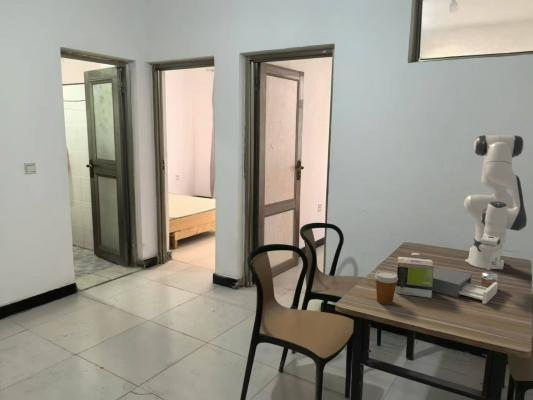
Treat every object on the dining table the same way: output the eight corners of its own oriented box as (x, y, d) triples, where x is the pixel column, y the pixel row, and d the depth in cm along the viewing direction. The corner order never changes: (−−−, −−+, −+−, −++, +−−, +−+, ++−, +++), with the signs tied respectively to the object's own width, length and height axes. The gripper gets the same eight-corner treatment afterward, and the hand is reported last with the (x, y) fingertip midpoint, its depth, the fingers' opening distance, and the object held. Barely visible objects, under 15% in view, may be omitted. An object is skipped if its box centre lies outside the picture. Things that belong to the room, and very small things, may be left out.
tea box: (430, 290, 183) (433, 259, 181) (431, 298, 174) (434, 266, 172) (395, 285, 188) (398, 255, 186) (395, 293, 179) (397, 261, 176)
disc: (484, 274, 191) (484, 270, 190) (499, 278, 186) (499, 274, 186) (479, 278, 186) (480, 274, 186) (495, 281, 182) (495, 277, 181)
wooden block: (484, 285, 191) (485, 275, 190) (495, 288, 187) (497, 278, 186) (480, 288, 187) (482, 278, 186) (492, 291, 184) (494, 280, 183)
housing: (438, 278, 199) (439, 266, 198) (470, 286, 189) (472, 274, 188) (423, 288, 186) (424, 275, 185) (457, 297, 176) (458, 284, 175)
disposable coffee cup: (393, 308, 164) (395, 280, 162) (370, 302, 169) (371, 275, 167) (398, 300, 172) (401, 273, 170) (376, 295, 177) (378, 269, 175)
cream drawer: (461, 284, 191) (462, 274, 190) (496, 292, 181) (497, 282, 180) (448, 293, 179) (449, 283, 178) (485, 304, 169) (486, 292, 168)
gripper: (492, 233, 192) (489, 261, 194) (480, 239, 178) (476, 270, 180) (507, 235, 188) (504, 264, 190) (495, 242, 173) (492, 273, 175)
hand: (491, 267), depth 185 cm, fingers open, 8 cm apart
